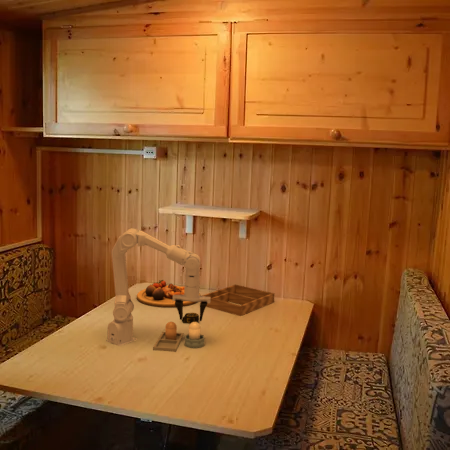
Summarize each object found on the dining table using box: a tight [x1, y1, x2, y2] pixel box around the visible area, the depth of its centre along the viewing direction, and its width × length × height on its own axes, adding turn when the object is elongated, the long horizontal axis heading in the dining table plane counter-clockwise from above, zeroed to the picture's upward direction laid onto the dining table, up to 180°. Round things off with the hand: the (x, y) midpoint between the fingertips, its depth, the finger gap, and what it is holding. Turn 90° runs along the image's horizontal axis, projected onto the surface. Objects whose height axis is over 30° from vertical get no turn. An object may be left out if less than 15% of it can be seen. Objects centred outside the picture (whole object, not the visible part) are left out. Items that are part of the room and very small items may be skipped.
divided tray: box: [152, 331, 185, 353], centre depth 202 cm, size 16×9×2 cm, turn 174°
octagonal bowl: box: [184, 333, 205, 349], centre depth 201 cm, size 8×8×4 cm
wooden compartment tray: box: [199, 284, 275, 317], centre depth 256 cm, size 29×24×4 cm
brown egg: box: [164, 321, 178, 340], centre depth 205 cm, size 4×4×7 cm
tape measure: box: [181, 312, 200, 325], centre depth 227 cm, size 7×7×4 cm
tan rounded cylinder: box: [188, 322, 201, 340], centre depth 200 cm, size 4×4×7 cm
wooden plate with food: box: [136, 279, 202, 308], centre depth 262 cm, size 32×32×8 cm
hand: (191, 319), depth 202 cm, fingers open, 7 cm apart
